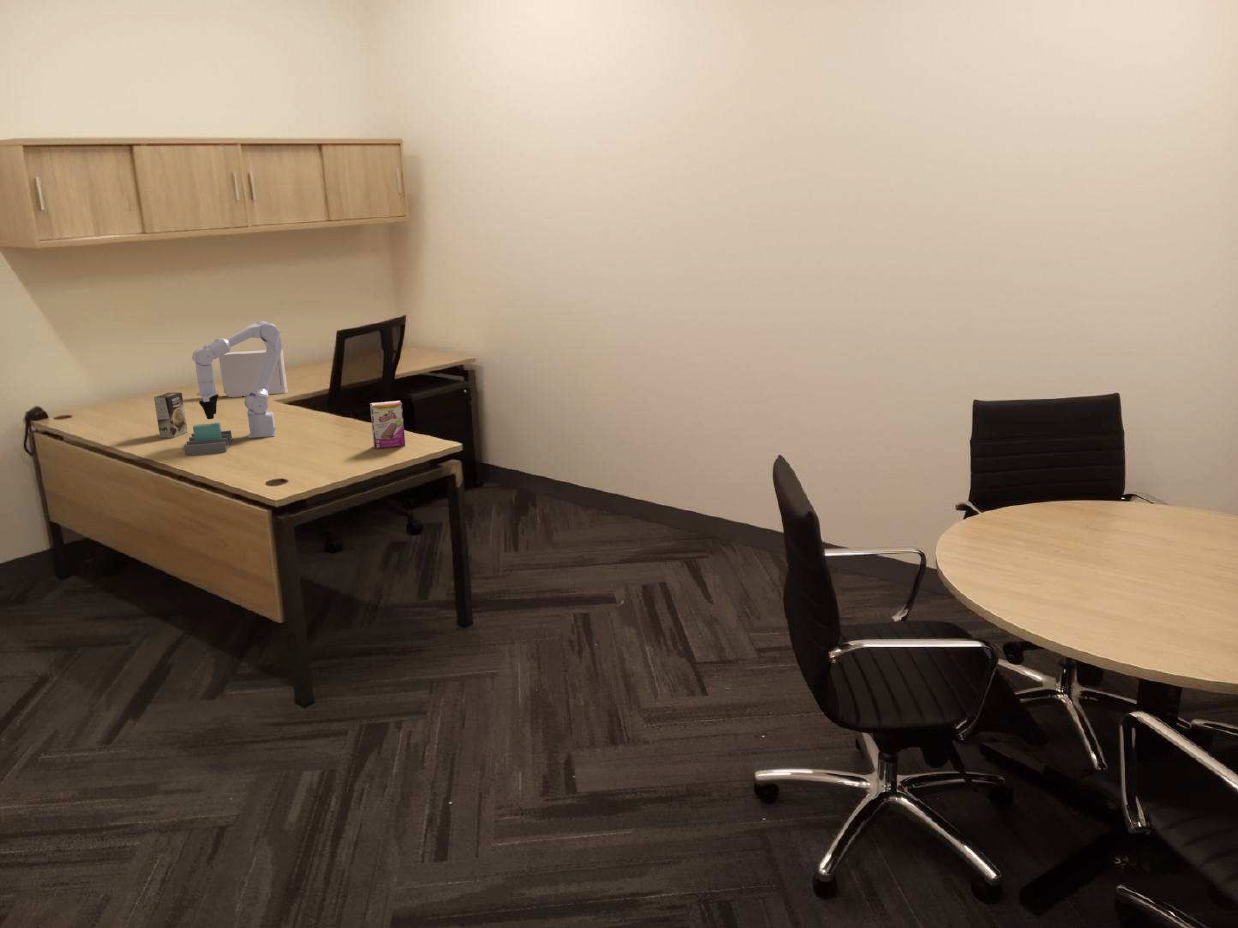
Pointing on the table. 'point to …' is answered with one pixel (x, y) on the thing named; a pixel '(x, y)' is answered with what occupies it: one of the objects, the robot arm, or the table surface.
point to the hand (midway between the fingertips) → (211, 416)
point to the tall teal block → (207, 431)
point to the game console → (249, 373)
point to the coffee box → (170, 415)
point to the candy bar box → (387, 424)
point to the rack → (208, 444)
